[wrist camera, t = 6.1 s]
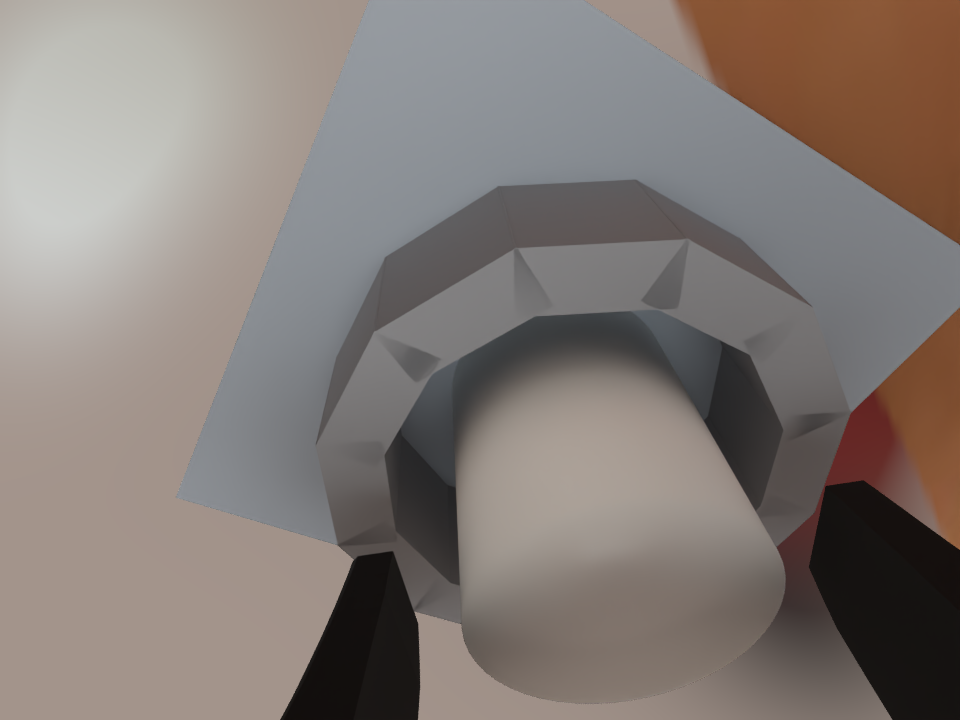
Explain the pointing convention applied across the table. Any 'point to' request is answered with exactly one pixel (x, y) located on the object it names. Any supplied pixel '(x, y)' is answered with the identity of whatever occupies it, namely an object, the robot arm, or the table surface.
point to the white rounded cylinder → (599, 518)
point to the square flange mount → (548, 273)
